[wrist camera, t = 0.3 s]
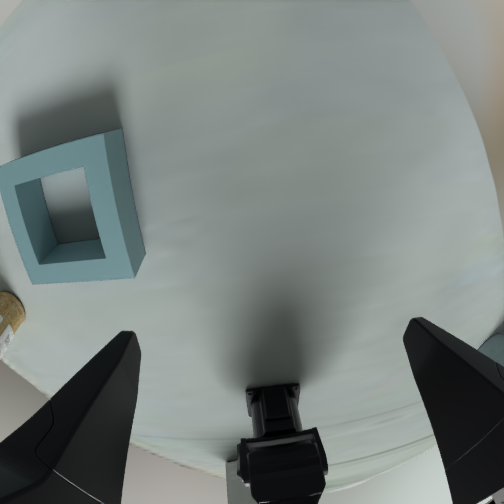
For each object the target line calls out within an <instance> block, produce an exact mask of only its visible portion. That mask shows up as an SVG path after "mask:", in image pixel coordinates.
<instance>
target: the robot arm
mask: <svg viewBox="0 0 504 504" xmlns="http://www.w3.org/2000/svg"><path fill="white" fill-rule="evenodd" d="M403 342H404V346H405V349H406V352H407V355H408V359H409V362H410V366H411V369H412V372H413V376H414V379H415V381H416V384H417V387H418V389H419V392H420V395H421V397H422V400H423V403H424V406H425V408H426V411H427V414H428V417H429V420H430V423H431V426H432V429H433V432H434V435H435V438H436V441H437V444H438V448H439V451H440V454H441V458H442V461H443V465H444V469H445V473H446V477H447V481H448V485H449V489H450V493H451V497H452V501H453V504H477V503H479V502H481V501H482V500H484V499H486V498H488V497H489V496H491V495H492V497H493V498H492V499H491V500H490V501H488V502H487V503H486V504H504V366H502V365H501V364H499V363H497V362H495V361H494V360H493V359H491V358H489V357H488V356H486V355H484V354H483V353H481V352H480V351H478V350H476V349H475V348H473V347H471V346H470V345H468V344H466V343H465V342H463V341H462V340H460V339H458V338H457V337H455V336H453V335H452V334H450V333H448V332H447V331H445V330H443V329H442V328H440V327H438V326H436V325H435V324H433V323H431V322H430V321H428V320H426V319H425V318H423V317H416V318H412V319H411V320H410V322H409V324H408V326H407V329H406V331H405V333H404V336H403ZM140 362H141V350H140V346H139V343H138V340H137V336H136V334H135V332H133V331H121V332H120V333H119V334H117V335H116V336H115V337H114V338H113V339H112V340H111V341H110V342H109V343H108V344H107V345H106V346H105V347H104V348H102V349H101V350H100V351H99V352H98V353H97V354H96V355H95V356H94V357H93V358H92V359H91V360H90V361H89V362H88V363H87V364H86V365H85V366H83V367H82V368H81V369H80V370H79V371H78V372H77V373H76V374H75V375H74V376H73V377H72V378H71V379H70V380H69V381H68V382H67V383H66V384H65V385H64V386H63V387H62V388H61V389H60V390H59V391H58V392H57V393H56V394H55V395H54V396H53V397H52V398H51V401H50V400H49V401H47V402H46V403H45V404H44V406H42V407H41V408H40V409H39V410H38V411H37V412H36V413H35V414H34V415H33V416H32V417H31V418H30V419H29V420H27V421H26V422H25V423H24V424H23V425H22V426H20V427H19V428H18V429H17V430H15V431H14V432H13V433H12V434H10V435H9V436H8V437H7V438H5V439H4V440H3V441H2V442H0V504H121V498H122V488H123V481H124V474H125V466H126V460H127V452H128V446H129V441H130V435H131V429H132V424H133V418H134V413H135V408H136V402H137V395H138V383H139V372H140ZM299 394H300V384H290V385H282V386H274V387H265V388H256V389H248V390H246V399H247V407H248V414H249V416H250V417H252V424H253V433H254V438H249V439H246V438H241V443H240V444H238V445H237V450H238V462H237V476H238V477H240V478H241V479H242V481H243V482H244V485H245V487H250V489H251V496H252V497H253V499H254V500H255V501H256V503H257V504H318V501H319V499H320V497H321V495H322V493H323V490H324V488H325V485H326V482H325V477H324V475H327V474H328V464H327V458H326V454H325V451H324V448H323V445H322V442H321V439H320V436H319V433H318V430H317V428H316V427H314V428H312V429H308V430H303V429H302V424H301V420H300V415H299V411H298V402H299Z"/></svg>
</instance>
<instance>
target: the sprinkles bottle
mask: <svg viewBox="0 0 504 504" xmlns="http://www.w3.org/2000/svg"><path fill="white" fill-rule="evenodd" d="M24 320H25V311H24V308H23V307H22V305H21V303H20V302H19V301H18V300H17V298H15V297H14V296H13V295H12V294H10V293H8V292H0V359H1V357H2V355H3V354H4V352H5V350H6V349H7V347H8V345H9V344H10V342H11V340H12V338H13V335H14V334H15V332H16V330H17V329H18V327H19V326H20V324H22V323H23V322H24Z"/></svg>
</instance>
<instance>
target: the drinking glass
mask: <svg viewBox="0 0 504 504" xmlns="http://www.w3.org/2000/svg"><path fill="white" fill-rule="evenodd" d="M478 351H480V352H481V353H483V354H484V355H486V356H488V357H489V358H491V359H493V360H494V361H495V362H497V363H499V364H501V365H502V366H504V337H503V336H502V335H501V334H496V335H494V336H492V337H491V338H489V339H488V340H487V341H486V342H485V343H484V344H483V345H482V346H481V347H480V348H479V349H478Z"/></svg>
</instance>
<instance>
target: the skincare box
mask: <svg viewBox="0 0 504 504" xmlns="http://www.w3.org/2000/svg"><path fill="white" fill-rule="evenodd" d="M237 462H238V460H236V461H232V462H228V463H226V480H227V496H228V504H257V503H256V501H255V500H254V499H253V497H252V496H251V489H250V487H245V485H244V482H243V481H242V479H241V478H240V477H238V476H237Z"/></svg>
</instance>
